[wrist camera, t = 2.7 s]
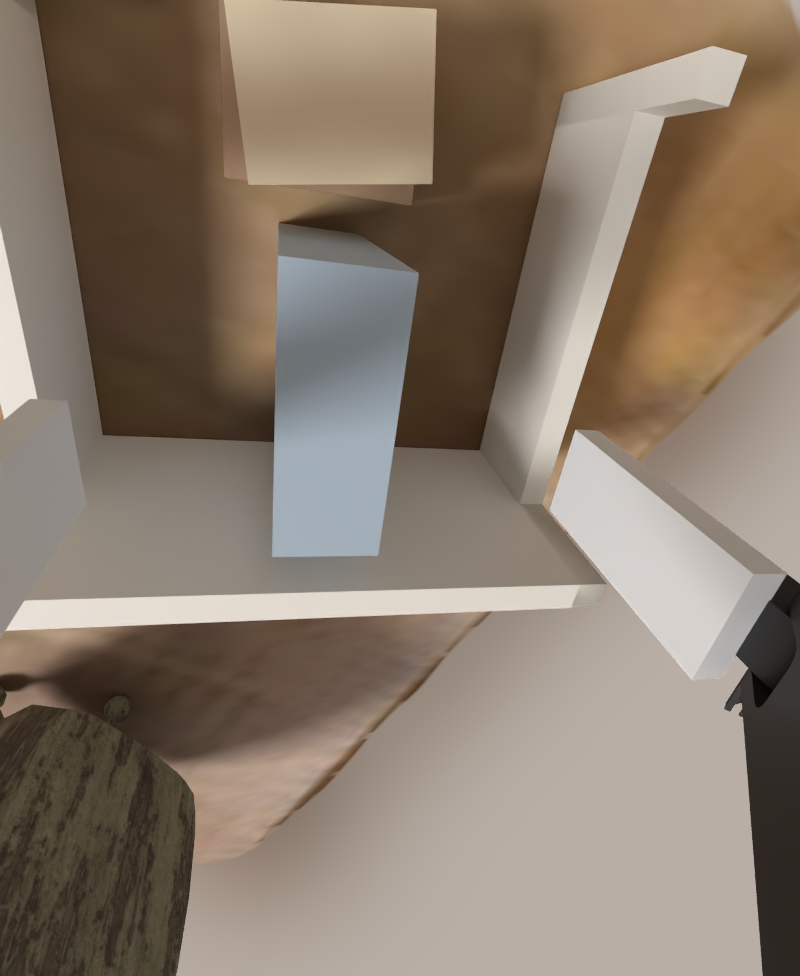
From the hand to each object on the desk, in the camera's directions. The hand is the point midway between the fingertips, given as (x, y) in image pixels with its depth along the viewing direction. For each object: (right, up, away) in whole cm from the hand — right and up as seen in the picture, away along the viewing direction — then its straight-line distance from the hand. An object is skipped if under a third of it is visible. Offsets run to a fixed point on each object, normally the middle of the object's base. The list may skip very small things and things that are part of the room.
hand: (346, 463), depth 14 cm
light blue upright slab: (-3, +7, +11) cm, 14 cm away
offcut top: (-1, +13, +4) cm, 13 cm away
